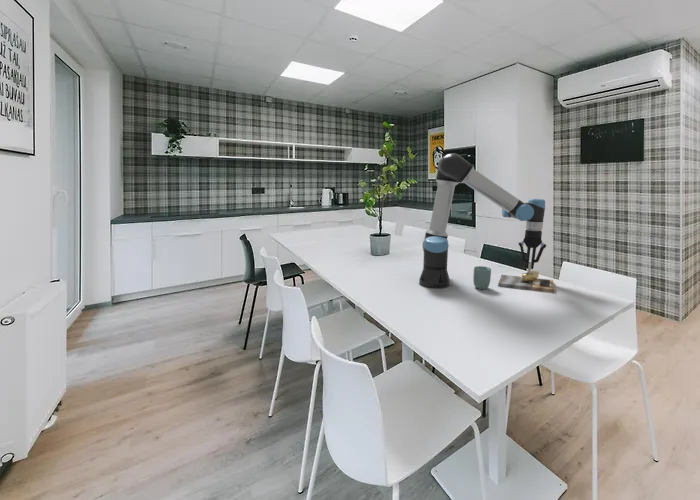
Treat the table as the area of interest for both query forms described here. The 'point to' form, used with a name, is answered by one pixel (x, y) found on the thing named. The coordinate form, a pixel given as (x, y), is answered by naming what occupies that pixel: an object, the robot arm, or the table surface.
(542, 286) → the door board
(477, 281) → the cup
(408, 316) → the table surface
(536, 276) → the latch arm
